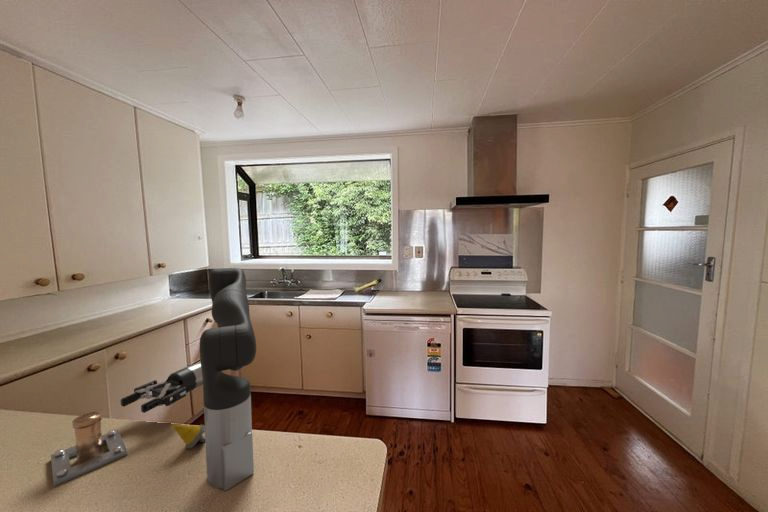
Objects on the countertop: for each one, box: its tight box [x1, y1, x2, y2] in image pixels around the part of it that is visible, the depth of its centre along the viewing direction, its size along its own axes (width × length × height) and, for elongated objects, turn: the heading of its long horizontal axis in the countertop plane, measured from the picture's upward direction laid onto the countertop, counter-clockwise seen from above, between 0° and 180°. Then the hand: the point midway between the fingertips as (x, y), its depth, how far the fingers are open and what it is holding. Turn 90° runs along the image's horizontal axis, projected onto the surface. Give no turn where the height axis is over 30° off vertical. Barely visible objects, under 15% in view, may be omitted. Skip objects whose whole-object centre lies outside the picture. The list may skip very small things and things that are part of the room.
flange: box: [50, 429, 128, 488], centre depth 71 cm, size 12×12×2 cm
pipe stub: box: [71, 410, 104, 465], centre depth 71 cm, size 5×5×10 cm
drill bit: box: [171, 423, 206, 450], centre depth 75 cm, size 5×5×10 cm
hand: (131, 406), depth 79 cm, fingers open, 8 cm apart
